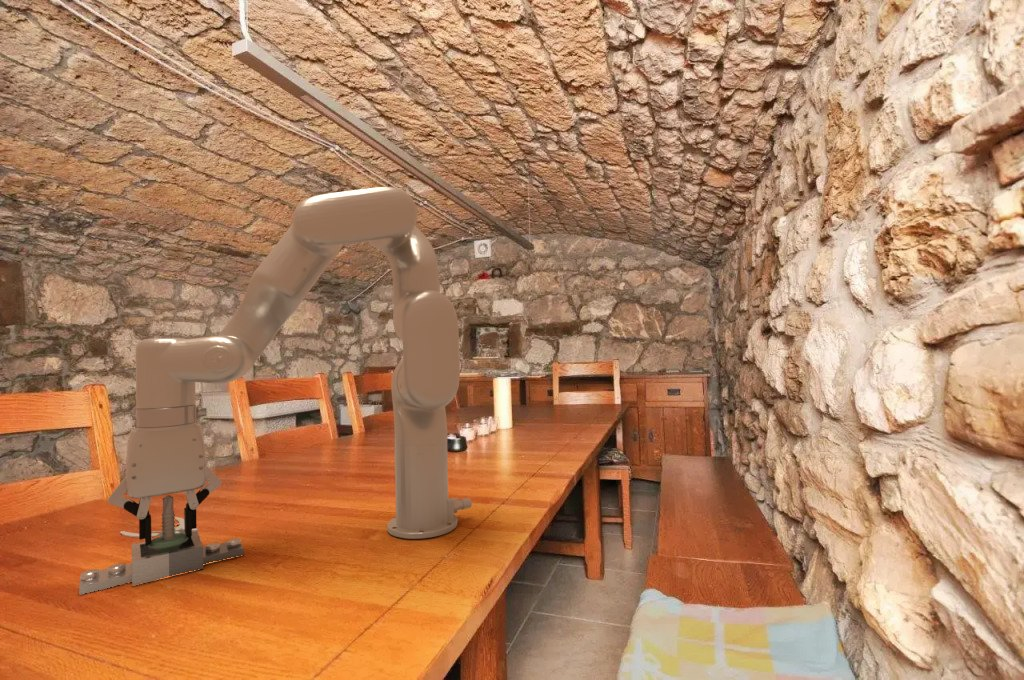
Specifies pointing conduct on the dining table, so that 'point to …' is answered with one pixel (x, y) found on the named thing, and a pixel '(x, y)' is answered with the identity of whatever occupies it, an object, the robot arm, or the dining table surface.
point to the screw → (168, 530)
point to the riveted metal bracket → (159, 563)
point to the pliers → (177, 530)
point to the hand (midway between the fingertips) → (168, 537)
